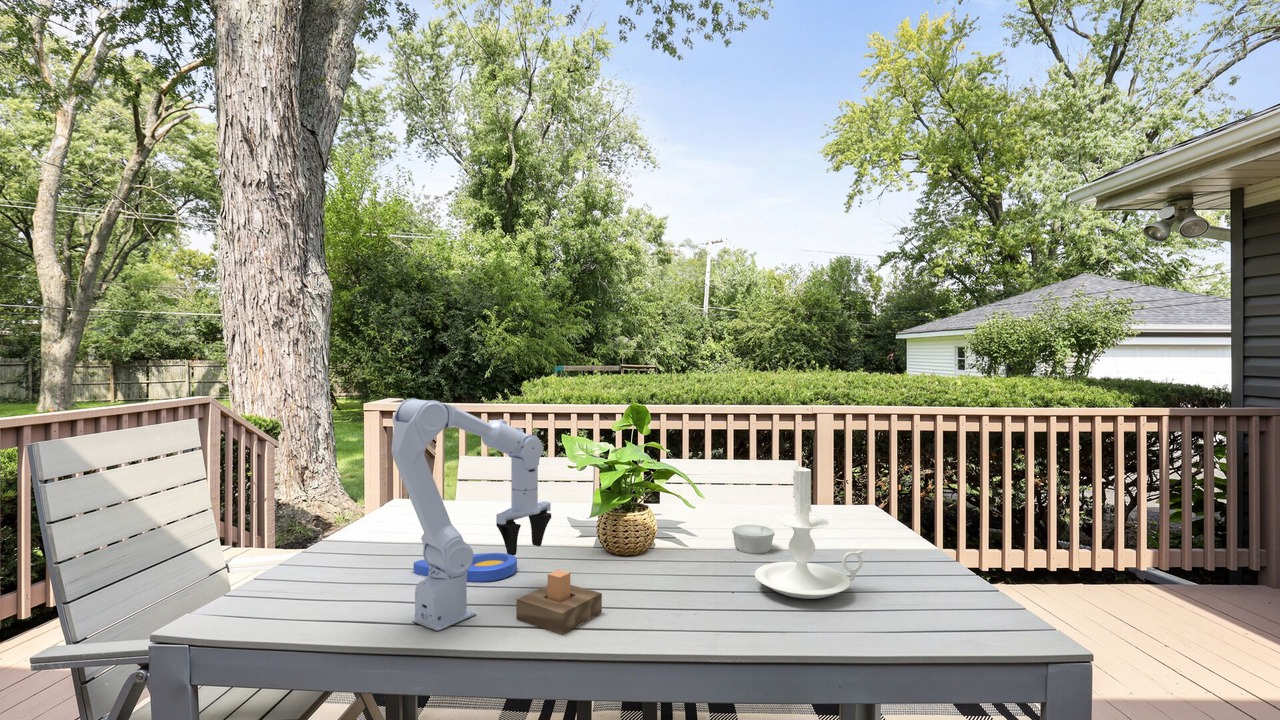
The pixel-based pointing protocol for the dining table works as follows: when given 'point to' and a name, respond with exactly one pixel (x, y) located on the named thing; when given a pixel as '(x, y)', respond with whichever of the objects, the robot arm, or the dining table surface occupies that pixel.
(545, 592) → the socket block
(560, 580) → the peg
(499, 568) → the location marker
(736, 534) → the ramekin
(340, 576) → the dining table surface
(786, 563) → the candlestick
